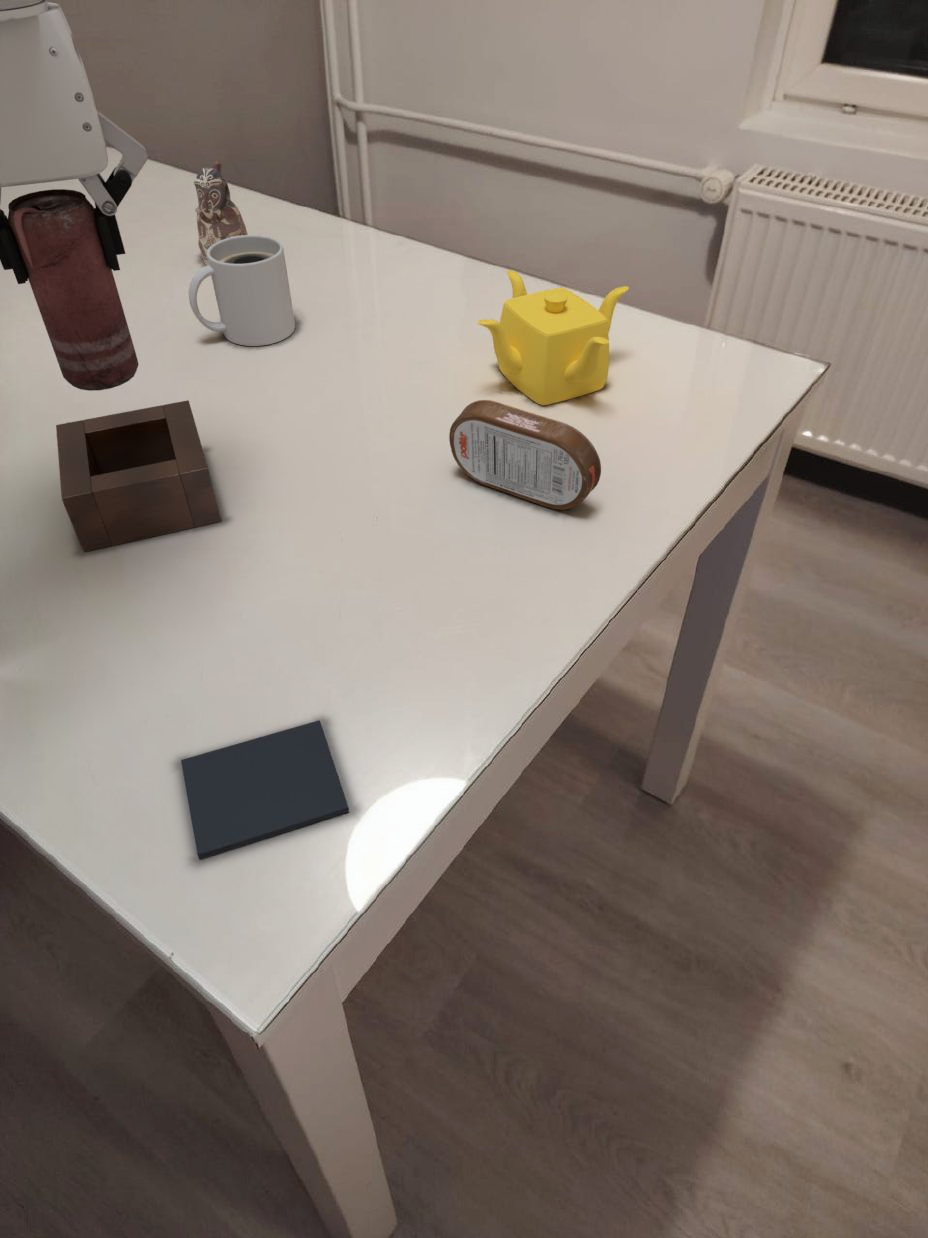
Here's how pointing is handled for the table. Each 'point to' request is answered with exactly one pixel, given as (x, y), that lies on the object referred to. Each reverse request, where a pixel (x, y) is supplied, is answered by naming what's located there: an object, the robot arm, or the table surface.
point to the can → (74, 287)
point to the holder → (134, 475)
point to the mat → (261, 788)
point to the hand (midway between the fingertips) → (68, 268)
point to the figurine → (215, 210)
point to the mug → (248, 290)
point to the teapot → (553, 342)
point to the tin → (524, 454)
